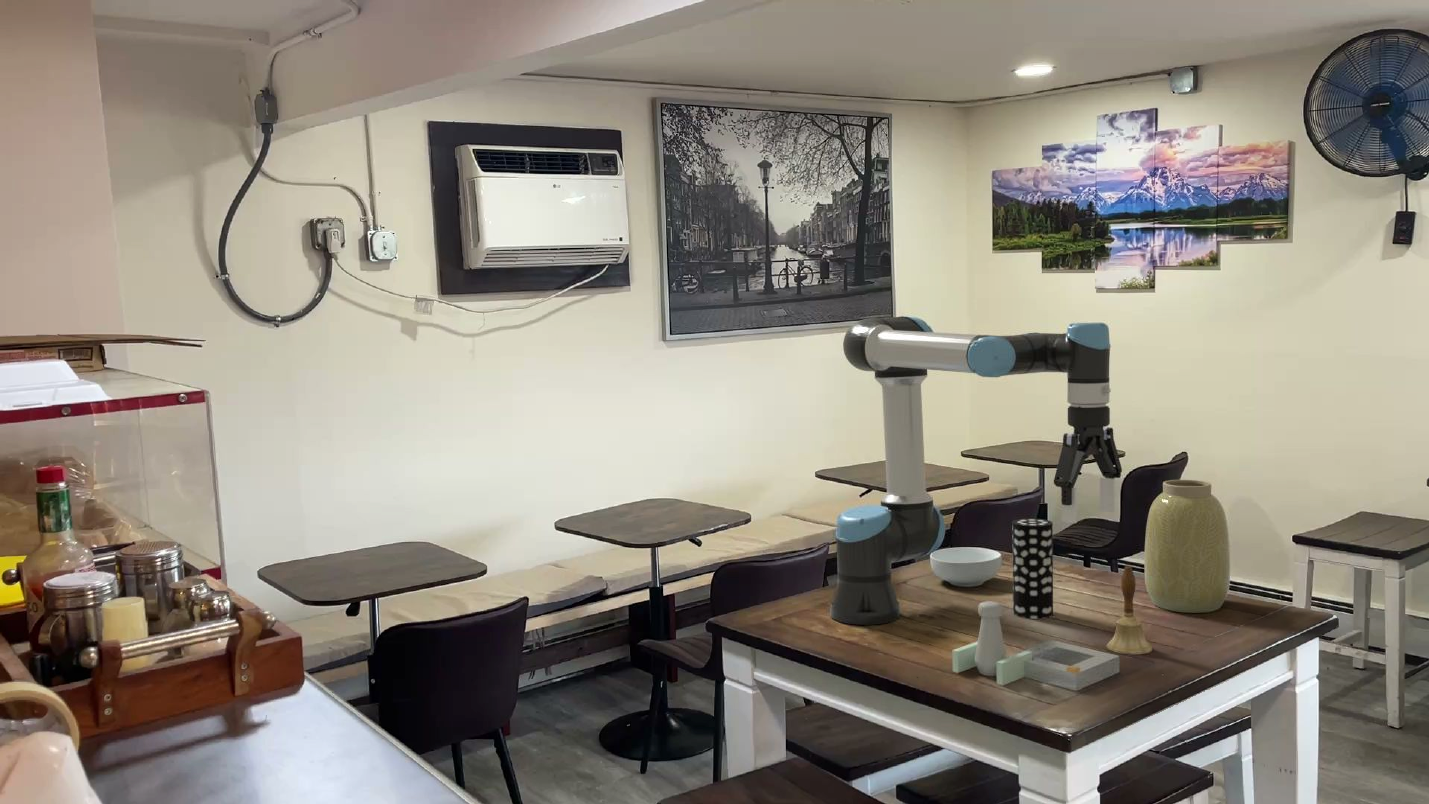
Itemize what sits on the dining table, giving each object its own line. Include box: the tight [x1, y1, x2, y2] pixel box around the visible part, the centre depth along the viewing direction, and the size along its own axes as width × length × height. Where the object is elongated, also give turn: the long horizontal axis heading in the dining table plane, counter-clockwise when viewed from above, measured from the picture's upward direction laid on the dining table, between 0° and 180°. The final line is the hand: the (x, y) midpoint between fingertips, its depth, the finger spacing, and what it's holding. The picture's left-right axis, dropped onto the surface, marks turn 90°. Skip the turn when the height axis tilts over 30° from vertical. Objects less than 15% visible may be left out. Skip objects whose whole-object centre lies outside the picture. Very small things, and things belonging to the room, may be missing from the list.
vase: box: [1143, 479, 1231, 614], centre depth 243 cm, size 17×17×27 cm
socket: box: [1007, 639, 1120, 692], centre depth 203 cm, size 14×14×4 cm
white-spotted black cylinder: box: [1011, 518, 1054, 620], centre depth 241 cm, size 8×8×20 cm
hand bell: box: [1106, 566, 1153, 656], centre depth 215 cm, size 8×8×16 cm
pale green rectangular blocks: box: [951, 640, 1032, 686], centre depth 204 cm, size 11×9×4 cm
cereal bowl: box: [929, 546, 1002, 588], centre depth 270 cm, size 17×17×7 cm
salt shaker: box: [975, 600, 1008, 677], centre depth 204 cm, size 6×6×13 cm
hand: (1088, 516), depth 212 cm, fingers open, 13 cm apart
